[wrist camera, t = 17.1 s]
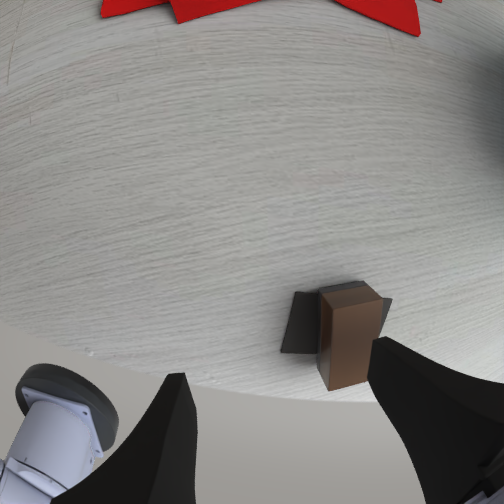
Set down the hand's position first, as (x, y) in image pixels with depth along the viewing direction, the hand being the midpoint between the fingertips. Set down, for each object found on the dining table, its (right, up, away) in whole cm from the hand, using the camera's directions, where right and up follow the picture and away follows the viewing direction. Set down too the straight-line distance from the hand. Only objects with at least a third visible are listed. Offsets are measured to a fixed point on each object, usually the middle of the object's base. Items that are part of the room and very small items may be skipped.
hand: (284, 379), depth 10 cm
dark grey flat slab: (+5, -1, +11) cm, 12 cm away
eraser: (+5, -1, +11) cm, 12 cm away
